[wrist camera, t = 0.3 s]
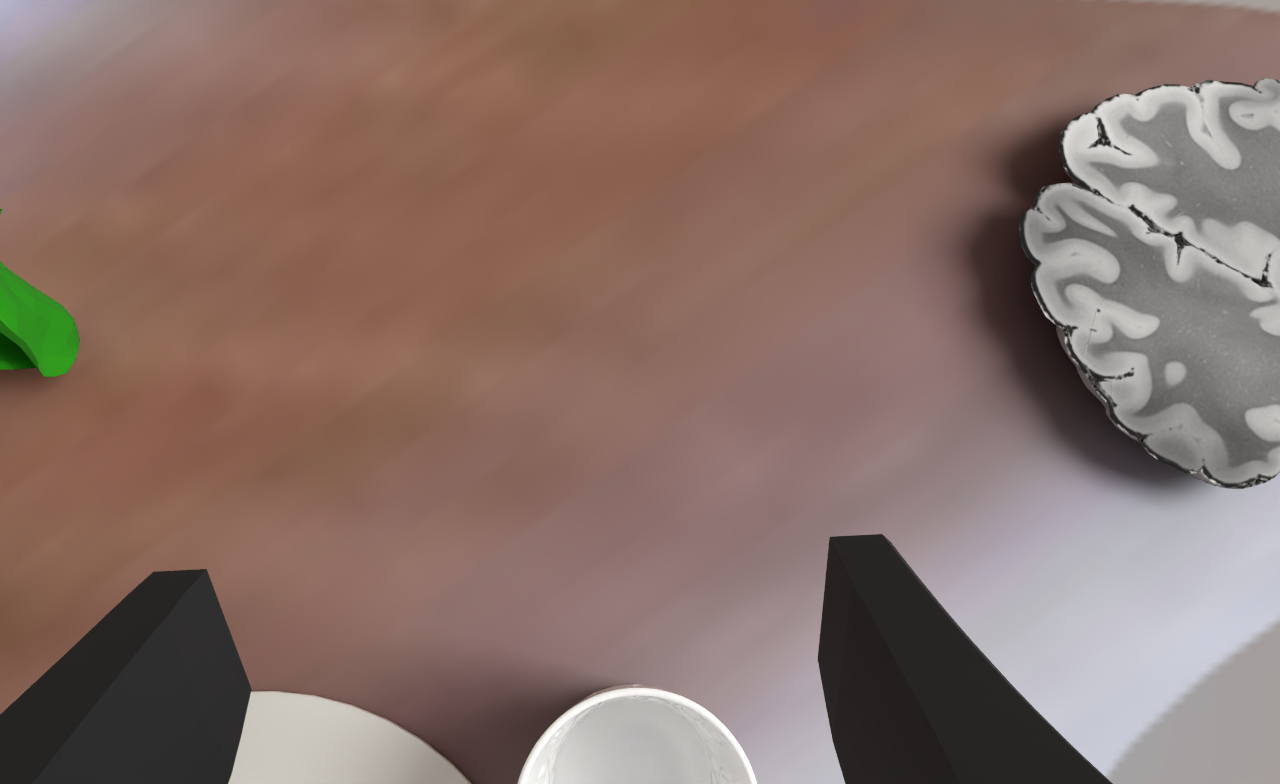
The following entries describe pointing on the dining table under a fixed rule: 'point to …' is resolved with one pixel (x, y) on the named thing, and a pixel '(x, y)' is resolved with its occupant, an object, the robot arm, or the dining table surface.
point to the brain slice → (1172, 271)
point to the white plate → (331, 746)
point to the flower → (34, 328)
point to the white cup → (637, 743)
